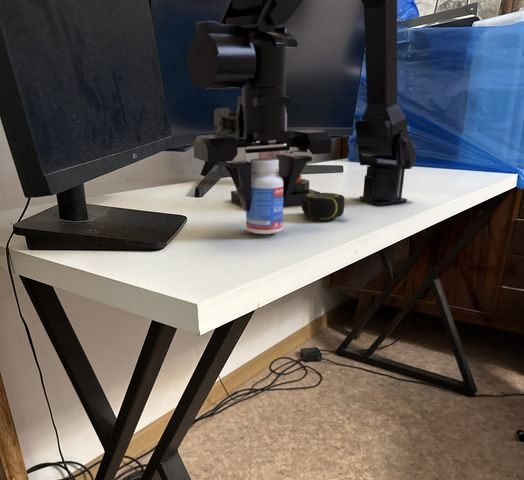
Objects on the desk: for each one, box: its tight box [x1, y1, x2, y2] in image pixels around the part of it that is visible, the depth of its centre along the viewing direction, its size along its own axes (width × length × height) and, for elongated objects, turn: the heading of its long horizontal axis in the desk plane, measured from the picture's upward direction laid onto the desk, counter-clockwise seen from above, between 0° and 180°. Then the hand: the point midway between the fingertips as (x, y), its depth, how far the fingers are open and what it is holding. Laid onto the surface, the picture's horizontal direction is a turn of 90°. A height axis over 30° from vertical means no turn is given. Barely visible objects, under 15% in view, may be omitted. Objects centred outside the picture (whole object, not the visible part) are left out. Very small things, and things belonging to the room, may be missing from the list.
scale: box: [230, 178, 321, 208], centre depth 94 cm, size 14×9×4 cm, turn 117°
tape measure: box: [300, 192, 346, 221], centre depth 83 cm, size 7×7×4 cm
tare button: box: [296, 172, 303, 183], centre depth 95 cm, size 4×4×2 cm
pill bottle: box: [245, 157, 284, 235], centre depth 73 cm, size 6×5×10 cm
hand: (264, 208), depth 74 cm, fingers closed on pill bottle, 5 cm apart
